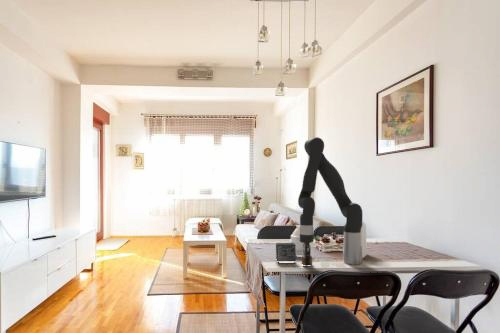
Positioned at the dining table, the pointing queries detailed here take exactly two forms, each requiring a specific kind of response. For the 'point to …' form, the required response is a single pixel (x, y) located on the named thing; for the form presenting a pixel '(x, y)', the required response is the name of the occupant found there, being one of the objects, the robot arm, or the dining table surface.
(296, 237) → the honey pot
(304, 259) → the walnut cube
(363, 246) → the milk
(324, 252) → the dining table surface
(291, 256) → the small box
